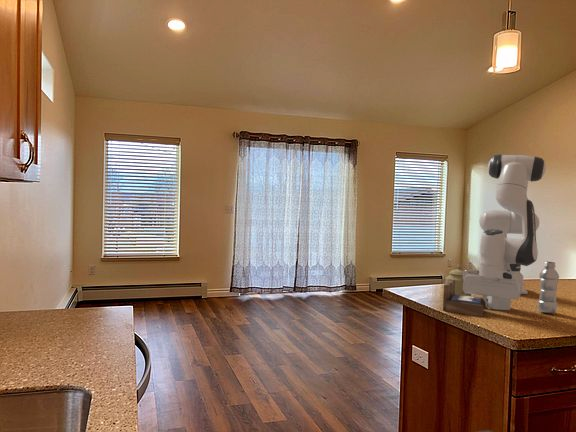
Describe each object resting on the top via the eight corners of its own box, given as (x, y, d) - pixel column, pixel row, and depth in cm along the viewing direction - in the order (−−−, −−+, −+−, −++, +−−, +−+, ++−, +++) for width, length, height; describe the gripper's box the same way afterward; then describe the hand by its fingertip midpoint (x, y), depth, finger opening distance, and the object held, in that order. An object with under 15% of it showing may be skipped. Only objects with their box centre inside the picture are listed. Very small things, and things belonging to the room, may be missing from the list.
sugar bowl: (484, 299, 193) (485, 265, 193) (468, 302, 187) (470, 267, 187) (455, 293, 206) (456, 261, 205) (439, 295, 200) (441, 262, 199)
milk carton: (510, 310, 175) (512, 263, 174) (491, 309, 176) (493, 262, 175) (504, 306, 182) (506, 260, 181) (486, 305, 183) (488, 259, 182)
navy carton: (453, 306, 180) (454, 294, 180) (480, 310, 175) (480, 297, 175) (450, 311, 172) (450, 298, 172) (477, 315, 168) (478, 302, 167)
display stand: (451, 303, 185) (452, 279, 185) (487, 308, 178) (488, 283, 178) (442, 310, 172) (443, 285, 172) (482, 316, 165) (483, 289, 164)
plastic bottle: (538, 309, 177) (541, 260, 176) (558, 313, 173) (561, 262, 172) (535, 312, 172) (538, 262, 171) (555, 316, 168) (558, 264, 167)
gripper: (461, 270, 173) (459, 305, 173) (520, 276, 162) (518, 313, 163) (464, 268, 178) (463, 302, 179) (521, 273, 167) (519, 309, 168)
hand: (489, 307), depth 171 cm, fingers closed
